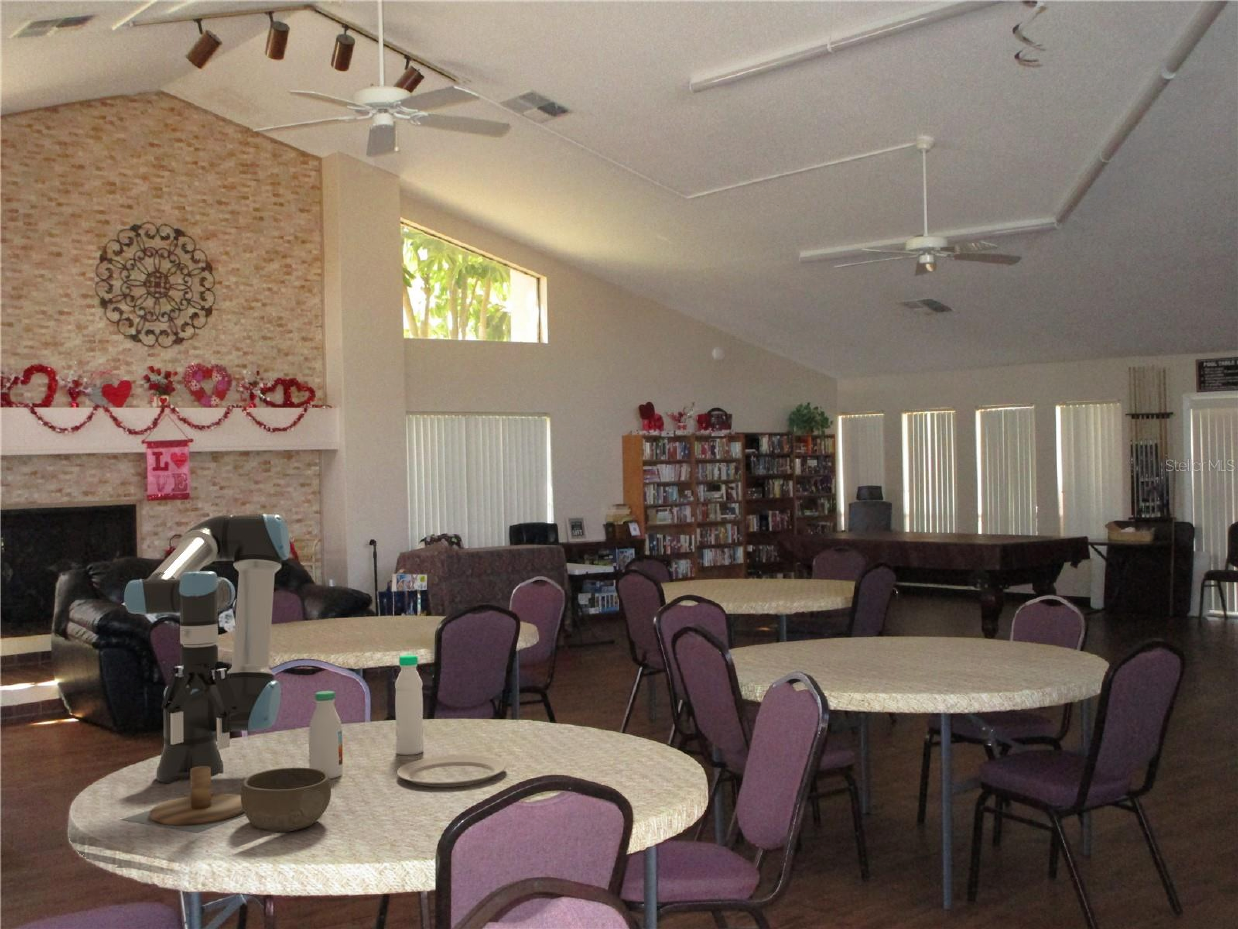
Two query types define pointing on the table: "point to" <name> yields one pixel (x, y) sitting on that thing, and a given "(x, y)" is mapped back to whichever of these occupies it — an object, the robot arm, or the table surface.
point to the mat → (145, 819)
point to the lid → (198, 804)
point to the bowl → (285, 798)
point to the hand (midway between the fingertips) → (199, 746)
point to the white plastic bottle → (409, 708)
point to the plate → (454, 760)
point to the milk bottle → (326, 736)
